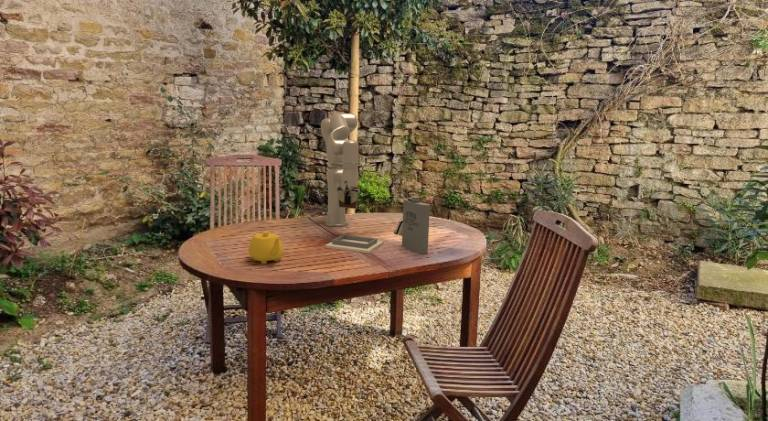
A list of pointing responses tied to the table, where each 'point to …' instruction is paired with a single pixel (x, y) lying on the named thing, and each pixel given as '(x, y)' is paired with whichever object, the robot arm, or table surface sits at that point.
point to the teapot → (265, 247)
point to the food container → (354, 198)
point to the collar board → (354, 243)
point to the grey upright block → (415, 225)
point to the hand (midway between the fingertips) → (350, 203)
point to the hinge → (399, 227)
